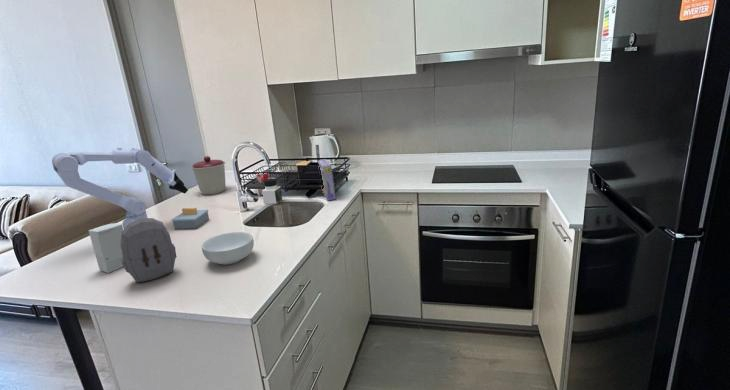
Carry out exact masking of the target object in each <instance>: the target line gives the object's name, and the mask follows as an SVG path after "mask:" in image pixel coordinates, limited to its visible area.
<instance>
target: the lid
mask: <svg viewBox="0 0 730 390" xmlns="http://www.w3.org/2000/svg"><path fill="white" fill-rule="evenodd" d="M181 211H182V213H180V214H178V215H176V216H175V217H174V218H172V219H171V222H173V221H192V220H196V219H198V218H199V217H201V216H202V215H204V214H205V213H207V212H208V213H209V209H197V207H186V208H185V207H183V208H182V209H181Z"/></svg>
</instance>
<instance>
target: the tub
mask: <svg viewBox="0 0 730 390" xmlns="http://www.w3.org/2000/svg"><path fill="white" fill-rule="evenodd" d="M209 220H210V216H209V211H208V212H207V213H205V214H204V215H202V216H201V217H199V218H198V219H196V220H192V221H172V223H173V228H174V230H197V229H199V228H200V227H202V226H203V225H204V224H206V223H207V222H208V221H209Z"/></svg>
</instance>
